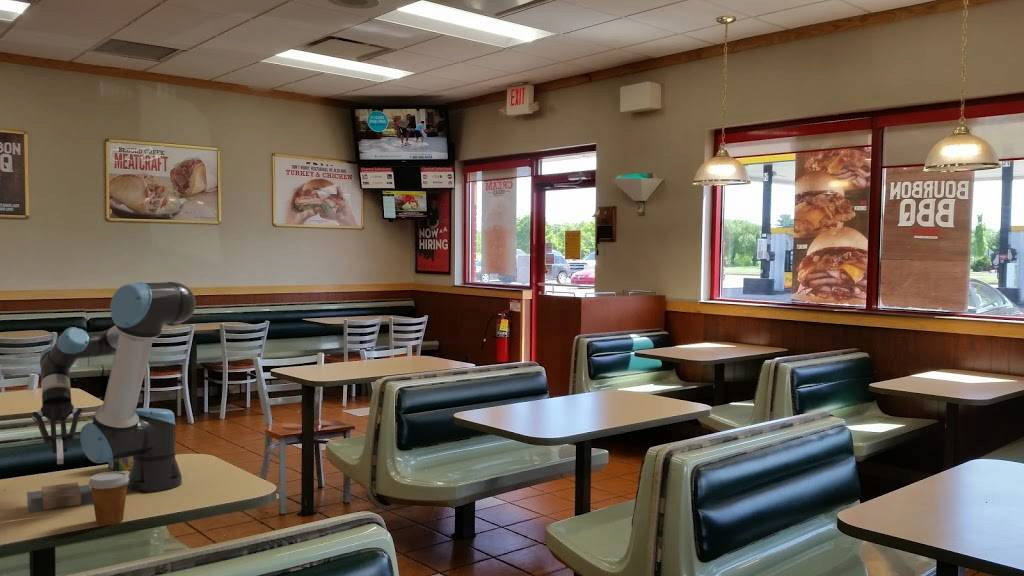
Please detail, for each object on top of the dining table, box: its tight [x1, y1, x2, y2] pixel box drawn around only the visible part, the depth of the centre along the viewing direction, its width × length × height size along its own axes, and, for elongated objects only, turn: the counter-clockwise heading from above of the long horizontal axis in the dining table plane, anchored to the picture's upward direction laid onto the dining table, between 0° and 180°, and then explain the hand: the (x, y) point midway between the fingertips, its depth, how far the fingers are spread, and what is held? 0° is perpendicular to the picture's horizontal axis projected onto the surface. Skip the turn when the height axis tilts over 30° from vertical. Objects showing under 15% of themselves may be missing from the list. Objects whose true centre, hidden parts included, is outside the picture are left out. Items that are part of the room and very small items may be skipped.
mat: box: [26, 484, 94, 514], centre depth 236 cm, size 16×22×1 cm
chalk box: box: [107, 456, 133, 472], centre depth 270 cm, size 9×9×15 cm
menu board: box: [41, 482, 81, 510], centre depth 233 cm, size 9×3×14 cm
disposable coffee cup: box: [88, 471, 129, 526], centre depth 217 cm, size 10×10×12 cm
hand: (60, 461), depth 233 cm, fingers closed
